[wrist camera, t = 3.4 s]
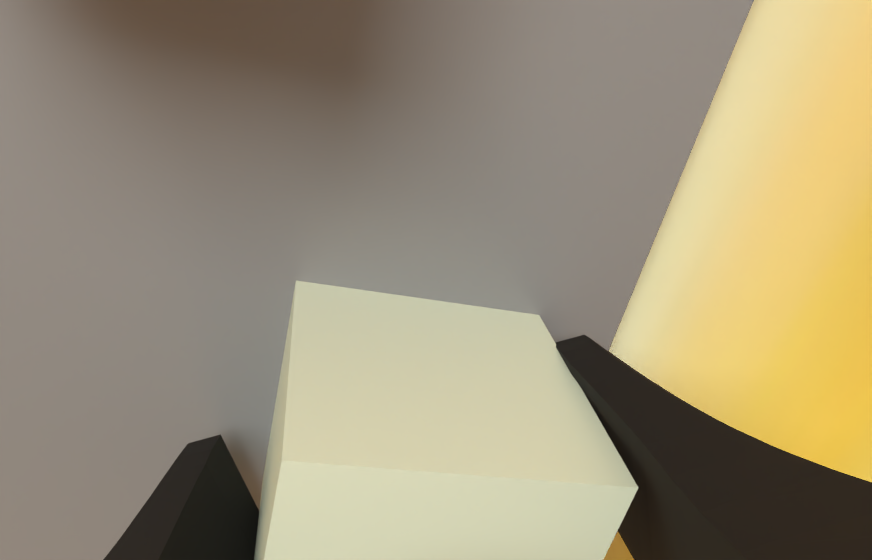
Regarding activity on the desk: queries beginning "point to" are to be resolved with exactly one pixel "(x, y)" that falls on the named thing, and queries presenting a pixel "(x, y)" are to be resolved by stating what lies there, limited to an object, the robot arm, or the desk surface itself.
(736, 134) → the desk surface
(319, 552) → the sage brick
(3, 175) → the plate
